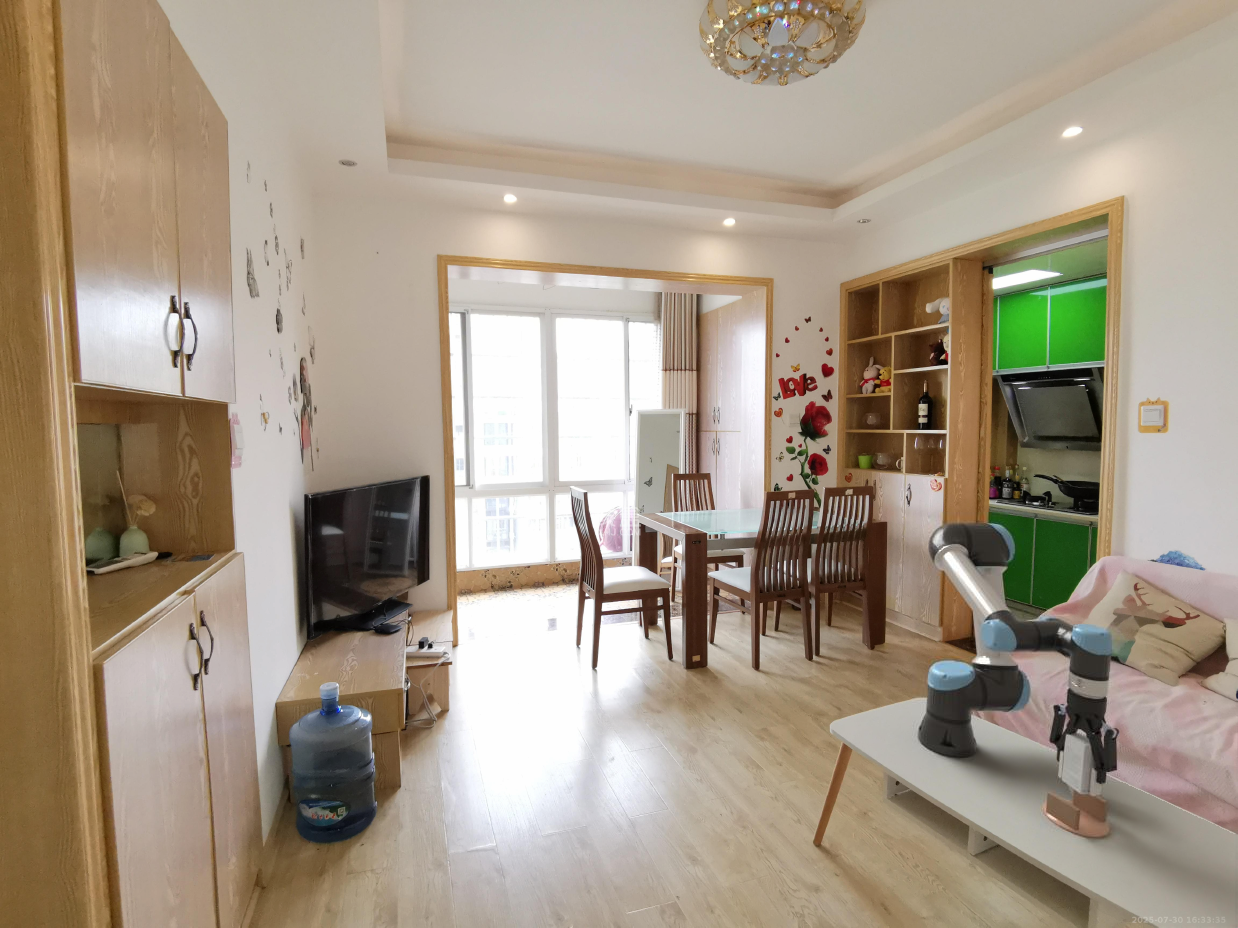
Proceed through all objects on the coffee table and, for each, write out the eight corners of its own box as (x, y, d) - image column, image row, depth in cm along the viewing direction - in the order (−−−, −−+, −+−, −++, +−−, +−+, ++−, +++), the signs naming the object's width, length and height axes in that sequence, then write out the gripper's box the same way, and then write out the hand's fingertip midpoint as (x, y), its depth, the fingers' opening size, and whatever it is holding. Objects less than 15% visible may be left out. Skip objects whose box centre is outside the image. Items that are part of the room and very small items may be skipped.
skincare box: (1097, 794, 148) (1102, 745, 146) (1080, 794, 147) (1085, 745, 146) (1076, 778, 154) (1081, 731, 152) (1060, 779, 153) (1064, 732, 152)
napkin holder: (1030, 807, 155) (1031, 786, 155) (1067, 797, 160) (1069, 776, 159) (1084, 842, 143) (1086, 819, 143) (1123, 830, 147) (1125, 808, 147)
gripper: (1035, 676, 156) (1028, 765, 158) (1121, 713, 138) (1112, 813, 140) (1057, 673, 159) (1050, 760, 161) (1144, 708, 140) (1134, 806, 142)
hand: (1079, 784), depth 150 cm, fingers closed on skincare box, 7 cm apart
